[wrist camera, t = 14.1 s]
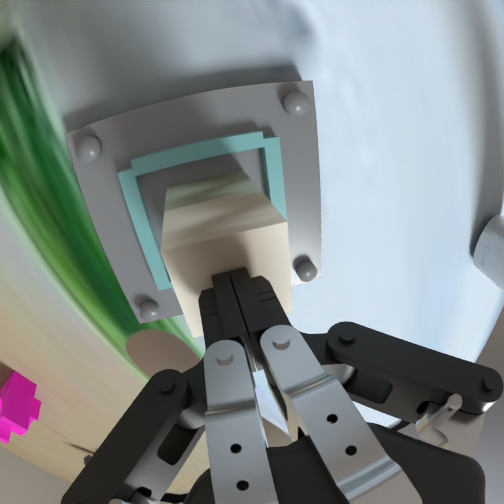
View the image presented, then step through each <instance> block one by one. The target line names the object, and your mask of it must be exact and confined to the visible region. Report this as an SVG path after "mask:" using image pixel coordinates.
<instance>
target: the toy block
mask: <svg viewBox="0 0 504 504" xmlns="http://www.w3.org/2000/svg"><path fill="white" fill-rule="evenodd" d="M36 386H37V385H36V384H34V383H33V382H31V381H30V380H28V379H27V378H25V377H23V376H22V375H20V374H19V373H18V372H16V371H15V370H14V372H13V373H12V374H11V376H10V377H9V378H8V380H7V381H6V382H5V384H4V385H3V387H2V388H1V389H0V440H1V441H3V442H4V443H7V442H9V438H10V434H11V431H13V432H15V433H17V434H19V435H20V436H21V435H22V434H24V433H26V431H27V430H28V427H29V425H30V423H31V422H32V421H33V420H34V419H36V420H38V416H39V410H40V405H41V402H40V401H39V400H37V399H35V398H34V394H35V390H36Z"/></svg>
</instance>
